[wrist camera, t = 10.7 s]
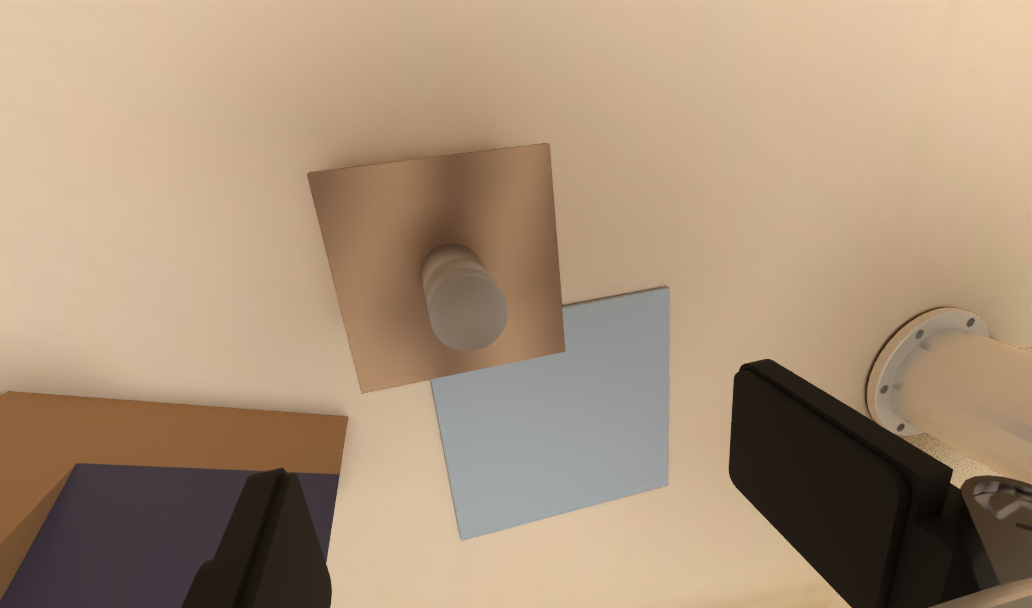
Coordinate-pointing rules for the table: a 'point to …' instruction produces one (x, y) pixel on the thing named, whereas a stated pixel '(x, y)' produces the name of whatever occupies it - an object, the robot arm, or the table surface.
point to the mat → (562, 419)
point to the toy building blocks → (139, 492)
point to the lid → (443, 262)
